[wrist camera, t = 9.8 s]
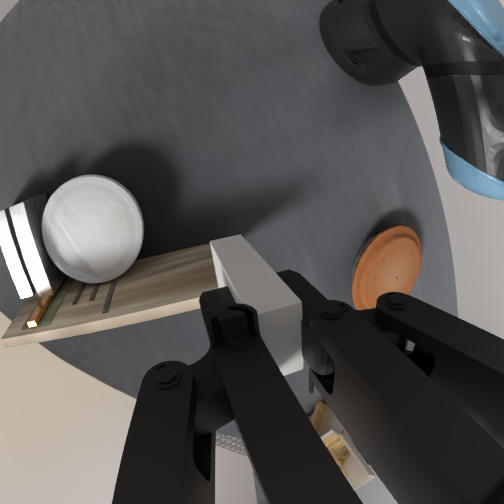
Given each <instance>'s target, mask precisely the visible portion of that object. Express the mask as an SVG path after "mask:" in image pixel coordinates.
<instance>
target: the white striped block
mask: <svg viewBox="0 0 504 504" xmlns="http://www.w3.org/2000/svg"><path fill="white" fill-rule="evenodd" d="M22 202H23V201H22ZM20 203H21V202H20ZM17 204H19V203H17ZM15 205H16V204H15ZM12 206H14V205H12ZM12 206H10V207H12ZM10 207H8V208H6V209H4V210H2V211H0V244H1V247H2V250H3V253H4V256H5V259H6V262H7V264H8V267H9V270H10V272H11V275H12V278H13V280H14V283H15V285H16V287H17V290H18V292H19V294H20V297H21V298H25V297H29V296H33V295H34V294H35V292H36V288H35V286H34V283H33V281H32V278H31V276H30V273H29V271H28V268H27V265H26V262H25V260H24V257H23V254H22V251H21V248H20V245H19V242H18V238H17V235H16V232H15V228H14V225H13V221H12V217H11V213H10V209H9V208H10Z"/></svg>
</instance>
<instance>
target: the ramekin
mask: <svg viewBox="0 0 504 504" xmlns="http://www.w3.org/2000/svg"><path fill="white" fill-rule="evenodd" d="M42 236H43V241H44V244H45V247H46V250H47V252H48V254H49V256H50V258H51V259H52V261H53V262H54V263H55V265H56V266H57V267H58V268H59V269H60V270H61V271H63V272H64V273H65V274H66V275H68V276H70V277H72V278H74V279H76V280H78V281H81V282H85V283H103V282H107V281H110V280H113V279H115V278H117V277H119V276H120V275H122V274H123V273H125V272H126V271H127V270H128V269H129V268H130V267H131V265H132V264H133V263H134V261H135V260H136V258H137V256H138V254H139V252H140V249H141V246H142V243H143V237H144V222H143V217H142V213H141V210H140V207H139V205H138V203H137V201H136V199H135V198H134V196H133V195H132V194H131V193H130V191H129V190H127V189H126V188H125V187H124V186H123V185H122V184H120V183H119V182H117V181H115V180H113V179H111V178H109V177H106V176H102V175H92V174H90V175H82V176H78V177H75V178H73V179H71V180H69V181H67V182H65V183H64V184H63V185H61V186H60V187H59V188H58V189H57V190H56V191H55V192H54V193H53V194H52V195H51V197H50V199H49V200H48V202H47V205H46V207H45V210H44V213H43V218H42Z"/></svg>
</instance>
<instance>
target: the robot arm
mask: <svg viewBox="0 0 504 504" xmlns="http://www.w3.org/2000/svg"><path fill="white" fill-rule="evenodd" d="M320 32H321V36H322V39H323V42H324V44H325V46H326V48H327V50H328V52H329V53H330V55H331V56H332V58H333V59H334V61H335V62H336V63H337V64H338V65H339V66H340V67H341V68H342V69H343V70H344V71H345V72H346V73H347V74H348V75H350V76H351V77H353V78H354V79H356V80H358V81H360V82H362V83H365V84H368V85H373V86H379V85H385V84H391V83H394V82H396V81H398V80H399V79H400V78H402V77H404V76H405V75H407V74H408V73H409V72H411V71H412V70H414V69H415V68H416V67H420V66H423V69H424V71H425V75H426V79H427V82H428V85H429V89H430V92H431V95H432V99H433V103H434V107H435V111H436V115H437V120H438V124H439V130H440V135H441V136H440V143H441V145H442V147H443V152H444V156H445V162H446V166H447V169H448V172H449V173H450V175H451V176H452V178H453V179H454V180H455V181H457V183H459V184H461V185H462V186H463V187H464V188H466V189H468V190H470V191H472V192H474V193H477V194H479V195H482V196H485V197H488V198H493V199H498V200H504V8H503V7H502V5H501V3H500V2H499V0H333V1H331V2H330V3H328V4H327V5H326V6H325V7H324V9H323V11H322V13H321V16H320ZM453 75H458V76H453ZM442 76H443V77H442ZM210 245H211V251H212V256H213V261H214V266H215V272H216V277H217V282H218V287H219V288H217V289H213V290H209V291H205V292H202V294H201V296H200V298H199V304H200V308H201V312H202V315H203V319H204V323H205V327H206V331H207V334H208V338H209V341H210V348H209V350H208V352H207V354H206V355H205V356H204V357H203V358H202V359H200V360H198V361H197V362H195V363H193V364H191V365H189V366H188V365H187V364H184V363H182V362H180V361H166V362H161V363H159V364H157V365H155V366H153V367H152V368H151V369H150V370H148V371H147V372H146V374H145V376H144V378H143V380H142V384H141V387H140V390H139V394H138V397H137V401H136V405H135V408H134V412H133V416H132V419H131V423H130V427H129V430H128V434H127V438H126V442H125V446H124V450H123V454H122V459H121V463H120V468H119V473H118V476H117V481H116V486H115V491H114V496H113V501H112V504H215V439H216V431H215V430H217V429H218V428H220V427H222V426H224V425H225V424H227V423H229V422H230V421H232V420H235V423H236V425H237V428H238V431H239V434H240V436H241V439H242V442H243V444H244V447H245V450H246V452H247V455H248V457H249V460H250V463H251V465H252V468H253V470H254V473H255V475H256V478H257V480H258V482H259V485H260V487H261V490H262V492H263V494H264V497H265V499H266V501H267V503H268V504H363V503H362V501H361V500H360V498H359V497H358V495H357V494H356V492H355V491H354V489H353V488H352V486H351V485H350V483H349V482H348V480H347V479H346V477H345V476H344V474H343V472H342V471H341V469H340V468H339V466H338V465H337V463H336V461H335V460H334V458H333V457H332V455H331V454H330V452H329V450H328V449H327V447H326V446H325V444H324V442H323V441H322V439H321V438H320V436H319V434H318V433H317V431H316V429H315V428H314V426H313V425H312V423H311V421H310V420H309V418H308V416H307V415H306V413H305V411H304V410H303V408H302V406H301V405H300V403H299V401H298V400H297V398H296V396H295V395H294V393H293V391H292V390H291V388H290V386H289V384H288V383H287V381H286V379H285V378H284V375H287V374H290V373H293V372H296V371H299V370H302V369H303V358H304V359H305V360H306V362H307V363H308V365H309V391H310V394H311V393H314V385H315V386H316V388H317V390H318V391H319V392H320V394H321V395H322V397H323V398H324V399H325V401H326V402H327V404H328V405H329V407H330V408H331V410H332V411H333V413H334V414H335V416H336V417H337V418H338V420H339V421H340V423H341V424H342V426H343V427H344V429H345V430H346V431H347V433H348V434H349V436H350V437H351V439H352V440H353V441H354V443H355V444H356V446H357V447H358V449H359V450H360V451H361V453H362V454H363V456H364V457H365V458H366V460H367V461H368V463H369V464H370V465H371V467H372V468H373V470H374V471H375V472H376V474H377V475H378V477H379V478H380V479H381V481H382V482H383V483H384V484H385V486H386V488H387V489H388V490H389V492H390V493H391V494H392V495H393V497H394V499H395V500H396V501H397V503H398V504H504V339H501V338H499V337H497V336H495V335H493V334H491V333H489V332H487V331H485V330H483V329H481V328H479V327H477V326H474V325H472V324H470V323H468V322H466V321H464V320H462V319H460V318H458V317H455V316H453V315H451V314H449V313H447V312H445V311H442V310H440V309H438V308H436V307H434V306H432V305H429V304H427V303H425V302H423V301H421V300H418V299H416V298H414V297H412V296H410V295H407V294H404V293H401V292H387V293H384V294H382V295H380V296H379V297H378V298H377V302H376V308H371V309H364V310H354V309H353V308H352V307H351V306H350V305H348V304H346V303H345V302H341V301H337V300H327V299H326V298H325V297H324V296H323V295H322V294H321V293H320V292H319V291H318V290H317V289H316V288H315V287H314V286H311V284H310V283H309V282H308V281H306V279H305V278H304V277H303V276H302V275H301V274H300V273H297V272H294V271H292V270H285V271H281V272H278V273H275V272H274V271H273V269H272V268H271V267H270V266H269V265H268V264H267V263H266V262H265V261H264V260H263V259H262V257H261V256H260V255H259V254H258V253H257V252H256V251H255V250H254V249H253V248H252V246H251V245H250V244H249V243H248V242H247V241H246V240H245V239H244V238H243V237H242V236H241V234H240V235H235V236H230V237H226V238H221V239H217V240H212V241H210ZM408 340H409V341H411V342H413V343H415V346H414V350H413V351H408V350H406V347H407V343H408Z"/></svg>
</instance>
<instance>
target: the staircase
mask: <svg viewBox="0 0 504 504" xmlns="http://www.w3.org/2000/svg"><path fill="white" fill-rule="evenodd" d="M308 418H309V420H310V421H311V423H312V425H313V426H314V428H315V429H316V431H317V433H318V434H319V436H320V438H321V439H322V441H323V442H324V444H325V446H326V447H327V449H328V450H329V452H330V454H331V455H332V457H333V458H334V460H335V461H336V463H337V465H338V466H339V468H340V469H341V471H342V472H343V474H344V476H345V477H346V479H347V480H348V482H349V483H350V485H351V486H352V488H353V489H354V490H356V489H358V488H359V487H361V486H362V485H364V484H365V483H367V482H369V481H370V480H371V479H373V478H374V477H376V475H375V474H374V472H373V471H372V470H371V468H370V467H369V466H368V464H367V463H366V461H365V460H364V459H363V457H362V456H361V454H360V453H359V452H358V450H357V449H356V447H355V446H354V445H353V443H352V442H351V440H350V436H349V435H348V434H347V432H346V431H345V429H344V428H343V427H342V425H341V424H340V422H339V421H338V419H337V418H336V417H335V415H334V414H333V412H332V411H331V409H330V408H329V407H328V405H327V404H326V405H325V404H324V403H322V402H321V401H319V402H317V403H316V408H315V411H314V414H312V415H311V416H310V417H308Z"/></svg>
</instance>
